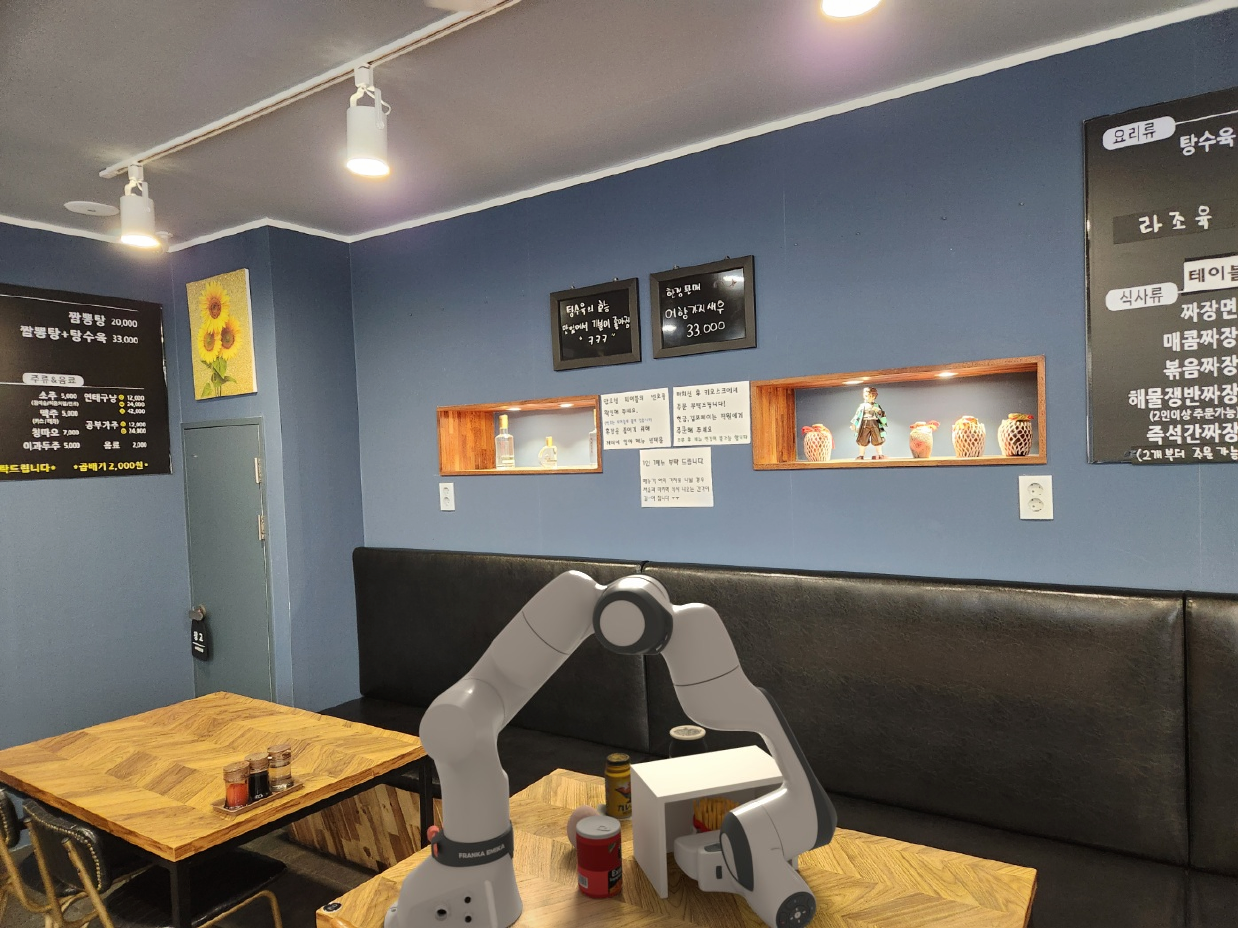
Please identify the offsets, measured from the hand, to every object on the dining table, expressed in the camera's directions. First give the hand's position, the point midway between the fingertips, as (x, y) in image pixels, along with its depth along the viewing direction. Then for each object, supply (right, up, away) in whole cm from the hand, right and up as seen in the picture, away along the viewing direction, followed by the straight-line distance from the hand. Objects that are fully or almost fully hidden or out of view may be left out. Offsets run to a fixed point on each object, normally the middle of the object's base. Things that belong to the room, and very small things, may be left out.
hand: (713, 825), depth 139 cm
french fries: (+1, -7, -1) cm, 7 cm away
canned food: (-21, -8, -6) cm, 23 cm away
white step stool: (0, -7, 0) cm, 7 cm away
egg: (-24, -8, +7) cm, 26 cm away
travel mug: (-2, -8, +19) cm, 21 cm away
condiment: (-18, -8, +23) cm, 30 cm away
